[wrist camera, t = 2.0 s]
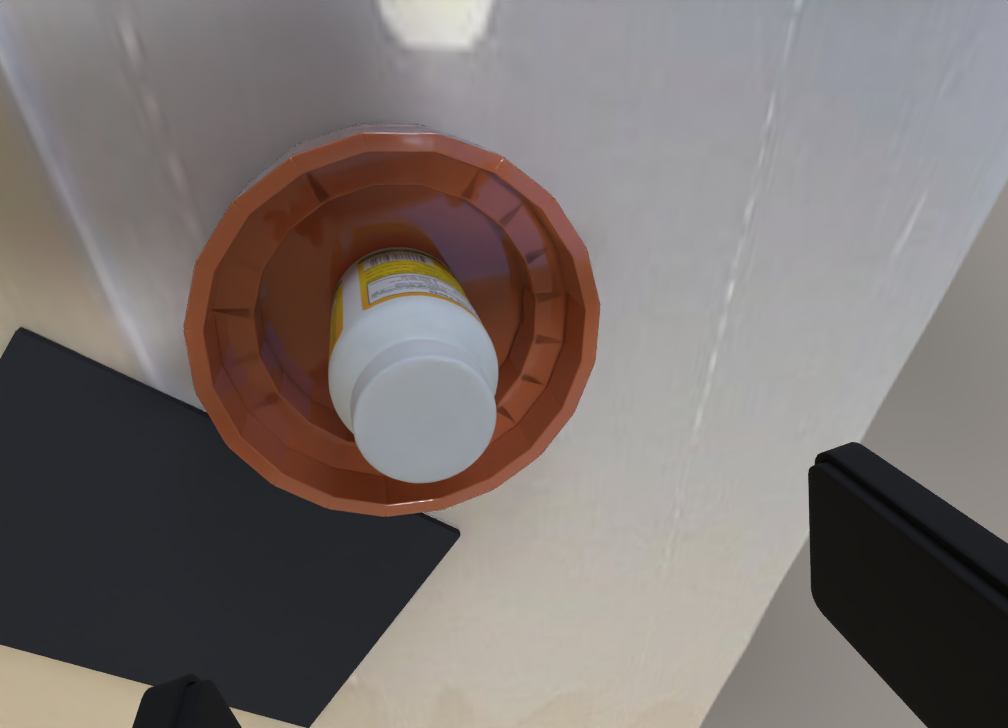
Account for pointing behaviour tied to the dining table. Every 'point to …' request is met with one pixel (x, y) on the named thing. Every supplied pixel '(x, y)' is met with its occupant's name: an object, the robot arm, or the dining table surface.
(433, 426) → the supplement bottle
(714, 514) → the dining table surface
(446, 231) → the bowl
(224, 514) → the mat
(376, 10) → the dining table surface
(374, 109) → the dining table surface
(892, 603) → the robot arm
